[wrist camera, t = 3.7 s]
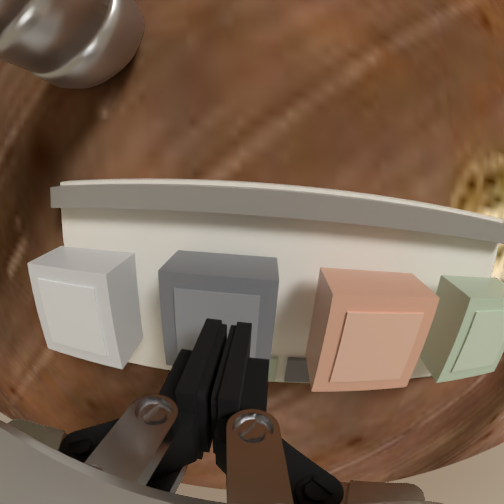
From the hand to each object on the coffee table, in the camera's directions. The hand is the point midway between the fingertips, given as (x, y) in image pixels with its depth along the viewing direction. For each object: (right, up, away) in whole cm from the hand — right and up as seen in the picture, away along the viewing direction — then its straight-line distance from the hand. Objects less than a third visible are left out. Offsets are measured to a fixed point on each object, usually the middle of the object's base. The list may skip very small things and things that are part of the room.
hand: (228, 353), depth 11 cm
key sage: (+13, 0, +3) cm, 14 cm away
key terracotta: (+6, +1, +4) cm, 7 cm away
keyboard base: (+3, +2, +6) cm, 7 cm away
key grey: (-8, +2, +4) cm, 9 cm away
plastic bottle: (-8, +16, +2) cm, 18 cm away
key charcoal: (-1, +1, +5) cm, 5 cm away
